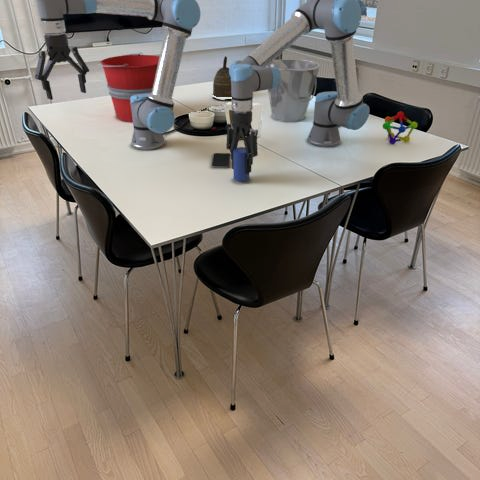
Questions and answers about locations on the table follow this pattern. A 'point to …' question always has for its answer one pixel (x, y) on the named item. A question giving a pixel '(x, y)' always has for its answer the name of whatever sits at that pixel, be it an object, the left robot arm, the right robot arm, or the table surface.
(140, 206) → the table surface
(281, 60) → the bucket
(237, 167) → the can
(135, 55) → the bucket
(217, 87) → the bell
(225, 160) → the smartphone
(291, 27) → the right robot arm
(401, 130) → the educational toy
